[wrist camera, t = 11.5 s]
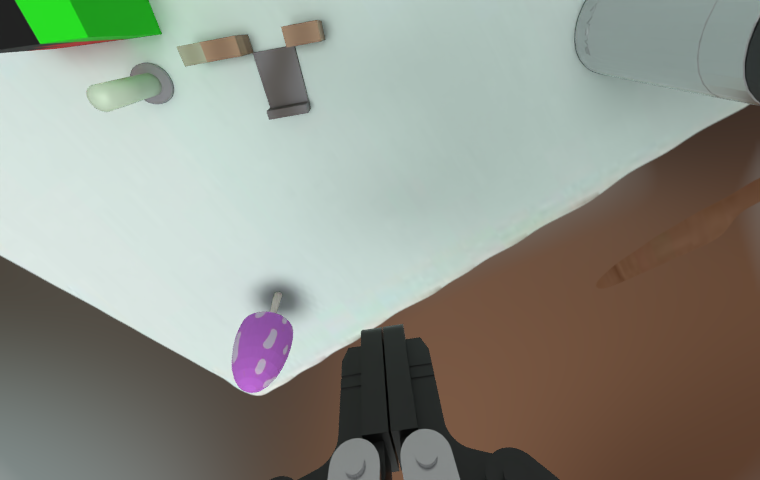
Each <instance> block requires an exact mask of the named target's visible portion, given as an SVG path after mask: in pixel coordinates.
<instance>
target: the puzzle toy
mask: <svg viewBox="0 0 760 480" xmlns="http://www.w3.org/2000/svg"><path fill="white" fill-rule="evenodd" d="M159 34H162V33H161V31H160V28H159V26H158V23H157V21H156V18H155V16H154V13H153V11H152V8H151V6H150V3H149V1H148V0H0V53H6V52H19V51H32V50H45V49H57V48H64V47H72V46H79V45H86V44H94V43H101V42H108V41H115V40H123V39H130V38H137V37H145V36H152V35H159Z"/></svg>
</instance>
